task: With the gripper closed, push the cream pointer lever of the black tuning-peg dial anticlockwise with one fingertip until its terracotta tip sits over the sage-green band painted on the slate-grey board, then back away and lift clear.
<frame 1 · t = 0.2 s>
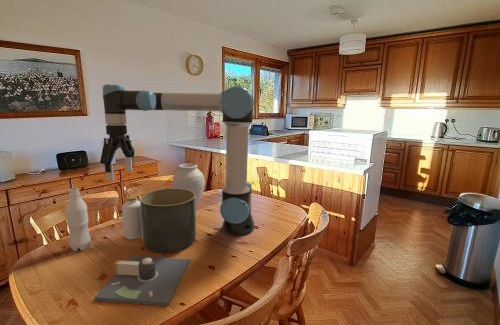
hand: (120, 175, 108), 28 cm above the table, fingers open, 13 cm apart
dial board: (148, 279, 86), on the table
vase: (189, 207, 149), on the table
water bottle: (81, 248, 104), on the table
peg lever: (135, 267, 86), point 4 cm above the table, hinge at 0.0°
planter: (170, 240, 112), on the table
potion bottle: (134, 236, 115), on the table
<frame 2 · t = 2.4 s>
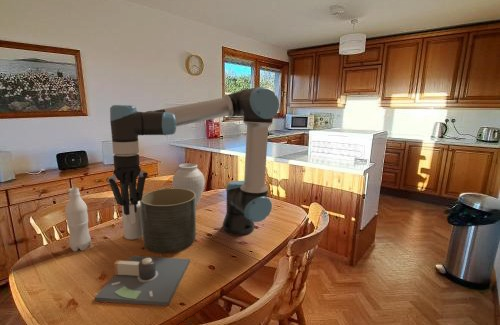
hand: (131, 222, 88), 18 cm above the table, fingers closed
nothing on the table moved.
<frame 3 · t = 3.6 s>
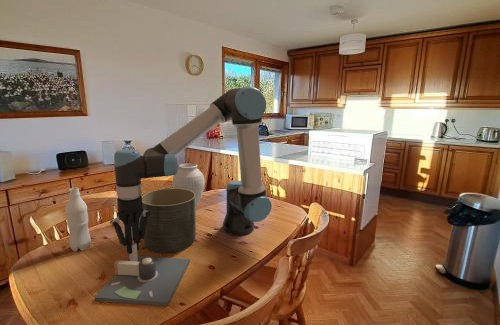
hand: (133, 260, 91), 4 cm above the table, fingers closed
nothing on the table moved.
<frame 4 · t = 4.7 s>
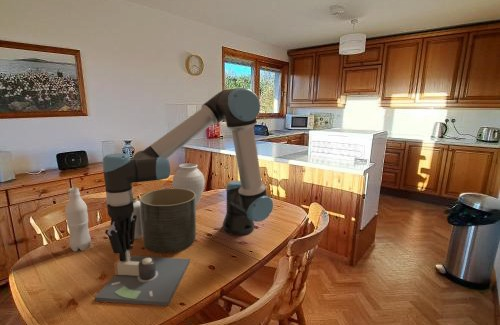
hand: (126, 267, 88), 3 cm above the table, fingers closed
peg lever: (135, 267, 86), point 4 cm above the table, hinge at 0.1°, touching gripper
everything else where it was.
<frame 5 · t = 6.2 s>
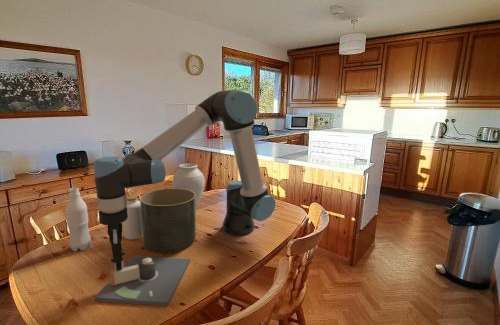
hand: (120, 276, 83), 3 cm above the table, fingers closed
peg lever: (133, 271, 83), point 4 cm above the table, hinge at 31.6°, touching gripper
everything else where it was.
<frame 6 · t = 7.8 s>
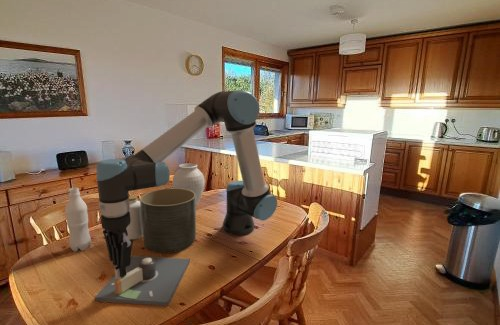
hand: (121, 283, 80), 3 cm above the table, fingers closed
peg lever: (136, 274, 82), point 4 cm above the table, hinge at 61.6°, touching gripper
everything else where it was.
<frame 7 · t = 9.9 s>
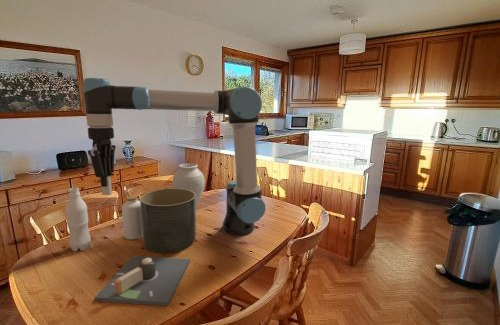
hand: (107, 194, 91), 26 cm above the table, fingers closed
peg lever: (136, 274, 82), point 4 cm above the table, hinge at 61.7°
everything else where it was.
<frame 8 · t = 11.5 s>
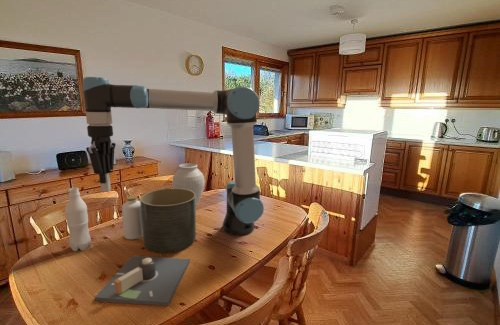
hand: (106, 191, 93), 26 cm above the table, fingers closed
nothing on the table moved.
at the end: peg lever at +62° (first picture: +0°); the gripper is holding nothing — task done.
